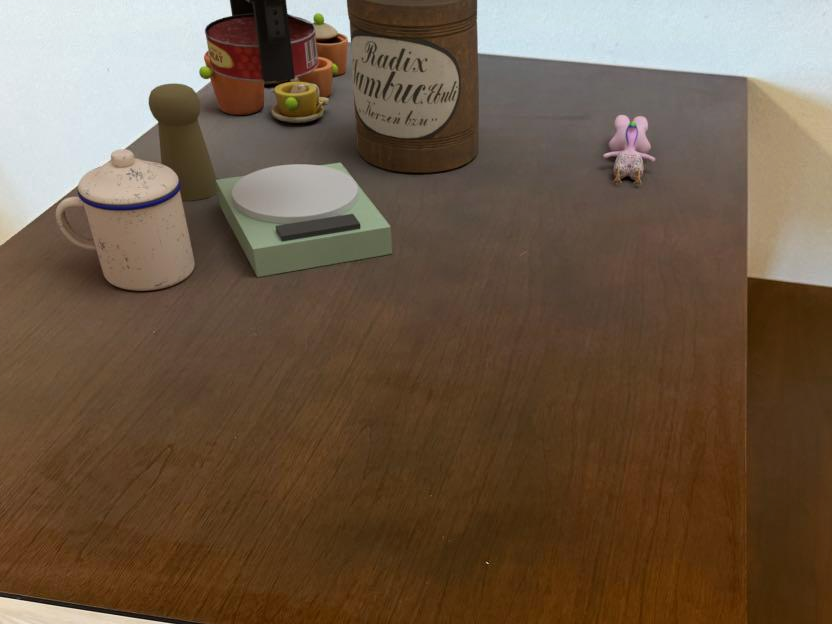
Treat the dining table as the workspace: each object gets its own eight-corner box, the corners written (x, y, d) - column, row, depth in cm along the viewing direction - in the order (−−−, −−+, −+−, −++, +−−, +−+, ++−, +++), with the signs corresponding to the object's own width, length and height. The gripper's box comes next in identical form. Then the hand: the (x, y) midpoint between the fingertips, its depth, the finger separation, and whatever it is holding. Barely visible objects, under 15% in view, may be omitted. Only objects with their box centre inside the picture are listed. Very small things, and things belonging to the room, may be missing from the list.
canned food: (230, 103, 95) (212, -10, 92) (332, 93, 94) (317, -20, 92) (194, 81, 84) (173, -48, 81) (309, 70, 84) (292, -59, 81)
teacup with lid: (205, 249, 99) (182, 134, 91) (187, 294, 92) (161, 174, 84) (85, 248, 98) (52, 131, 90) (59, 293, 91) (19, 171, 83)
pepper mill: (194, 173, 112) (175, 73, 104) (230, 187, 109) (213, 86, 102) (152, 190, 108) (128, 87, 101) (188, 205, 106) (167, 101, 98)
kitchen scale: (220, 206, 106) (213, 172, 103) (343, 188, 110) (340, 155, 108) (257, 277, 95) (251, 241, 92) (392, 254, 99) (390, 218, 97)
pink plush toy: (652, 198, 115) (654, 131, 124) (659, 152, 110) (660, 85, 119) (599, 194, 115) (605, 127, 124) (604, 148, 110) (610, 82, 119)
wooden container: (338, 163, 115) (319, -47, 100) (385, 120, 126) (374, -76, 111) (455, 182, 113) (453, -31, 98) (493, 137, 123) (497, -62, 108)
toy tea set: (318, 131, 122) (310, 50, 116) (199, 122, 123) (184, 40, 116) (364, 65, 141) (359, -8, 135) (260, 57, 142) (250, -16, 135)
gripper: (311, -230, 68) (339, 97, 84) (239, -261, 83) (274, 22, 98) (203, -230, 66) (252, 106, 81) (149, -262, 81) (199, 28, 96)
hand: (264, 60), depth 90 cm, fingers closed on canned food, 10 cm apart
